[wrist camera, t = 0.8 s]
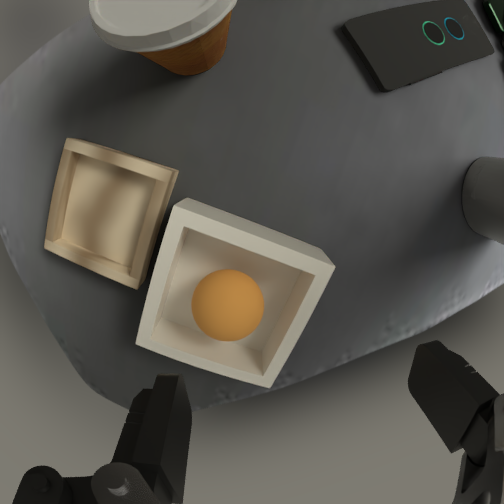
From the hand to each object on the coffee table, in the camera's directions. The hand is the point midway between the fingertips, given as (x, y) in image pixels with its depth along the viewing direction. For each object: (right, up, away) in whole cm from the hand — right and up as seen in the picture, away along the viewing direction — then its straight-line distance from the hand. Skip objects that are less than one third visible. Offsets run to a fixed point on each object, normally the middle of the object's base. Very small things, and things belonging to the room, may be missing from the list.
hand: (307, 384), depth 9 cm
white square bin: (-4, +1, +19) cm, 20 cm away
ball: (-4, 0, +16) cm, 16 cm away
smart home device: (+17, +27, +13) cm, 35 cm away
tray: (-15, +8, +17) cm, 24 cm away
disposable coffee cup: (-7, +23, +13) cm, 27 cm away
